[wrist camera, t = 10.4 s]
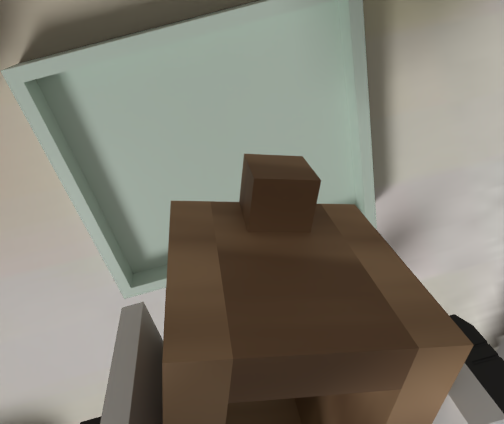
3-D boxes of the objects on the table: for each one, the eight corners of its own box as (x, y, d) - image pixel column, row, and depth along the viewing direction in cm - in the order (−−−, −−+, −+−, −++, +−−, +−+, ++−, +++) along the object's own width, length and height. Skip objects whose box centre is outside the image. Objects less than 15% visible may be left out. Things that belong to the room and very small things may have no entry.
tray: (18, 63, 22) (0, 70, 20) (344, -23, 22) (361, -24, 20) (128, 277, 30) (124, 299, 28) (363, 212, 31) (376, 228, 29)
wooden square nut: (307, 383, 17) (363, 553, 12) (169, 394, 16) (163, 586, 11) (366, 159, 12) (508, 281, 7) (170, 150, 11) (161, 288, 6)
